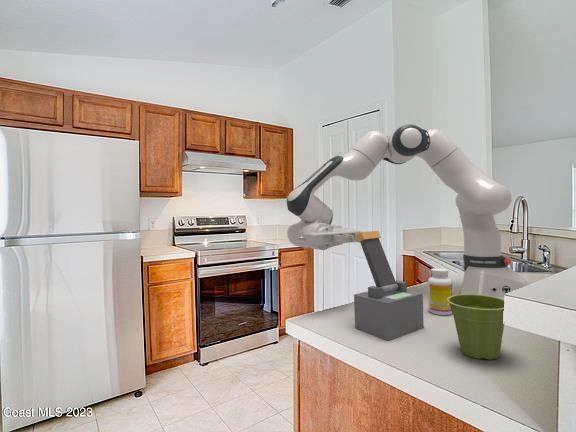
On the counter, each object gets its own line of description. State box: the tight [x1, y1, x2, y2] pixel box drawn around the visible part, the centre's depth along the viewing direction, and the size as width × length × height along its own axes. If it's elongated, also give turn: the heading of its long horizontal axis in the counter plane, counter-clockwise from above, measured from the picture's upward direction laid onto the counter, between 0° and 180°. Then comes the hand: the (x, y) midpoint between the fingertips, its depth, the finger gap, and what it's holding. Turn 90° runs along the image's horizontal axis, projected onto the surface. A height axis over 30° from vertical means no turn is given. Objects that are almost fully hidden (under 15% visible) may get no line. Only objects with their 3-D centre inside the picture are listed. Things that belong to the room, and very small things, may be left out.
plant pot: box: [447, 293, 505, 360], centre depth 70 cm, size 12×12×11 cm
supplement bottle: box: [427, 267, 454, 316], centre depth 97 cm, size 7×7×13 cm
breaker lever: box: [356, 230, 398, 294], centre depth 89 cm, size 3×7×17 cm, turn 123°
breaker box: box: [353, 280, 425, 342], centre depth 86 cm, size 11×14×12 cm
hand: (350, 238), depth 97 cm, fingers closed
